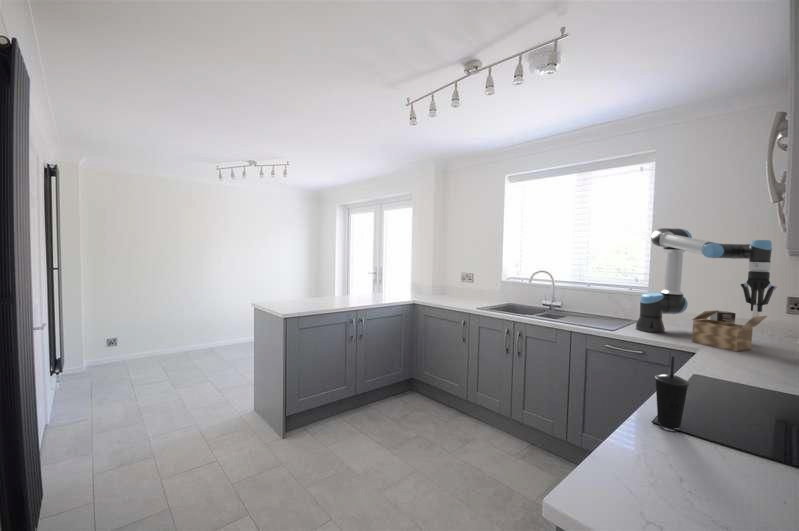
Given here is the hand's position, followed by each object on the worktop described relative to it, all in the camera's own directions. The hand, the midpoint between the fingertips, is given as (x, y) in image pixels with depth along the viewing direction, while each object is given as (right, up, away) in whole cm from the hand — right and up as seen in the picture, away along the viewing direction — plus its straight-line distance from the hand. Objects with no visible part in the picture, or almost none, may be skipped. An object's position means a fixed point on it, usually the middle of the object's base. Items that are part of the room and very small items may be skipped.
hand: (755, 317), depth 177 cm
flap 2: (0, -2, +1) cm, 2 cm away
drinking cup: (-104, -19, -79) cm, 131 cm away
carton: (-6, -17, +13) cm, 22 cm away
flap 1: (-8, -2, +19) cm, 21 cm away
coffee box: (+8, -17, +28) cm, 33 cm away
